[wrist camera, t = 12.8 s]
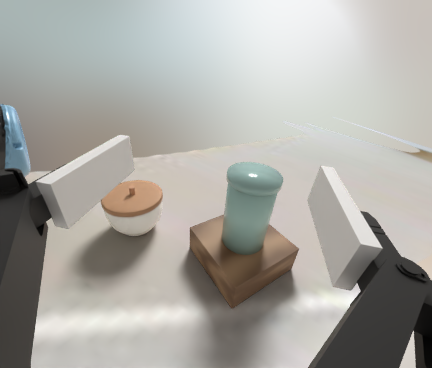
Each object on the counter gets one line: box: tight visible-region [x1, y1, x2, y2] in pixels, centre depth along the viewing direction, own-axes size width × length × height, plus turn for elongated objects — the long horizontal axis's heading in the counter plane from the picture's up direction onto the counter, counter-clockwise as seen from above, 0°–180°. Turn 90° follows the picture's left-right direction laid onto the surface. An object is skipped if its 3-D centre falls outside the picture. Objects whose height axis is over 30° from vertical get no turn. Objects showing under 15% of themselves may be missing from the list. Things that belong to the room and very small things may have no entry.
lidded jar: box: [101, 180, 163, 236], centre depth 41 cm, size 11×11×9 cm
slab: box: [190, 215, 299, 308], centre depth 37 cm, size 13×13×5 cm
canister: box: [222, 162, 283, 255], centre depth 32 cm, size 8×8×12 cm
